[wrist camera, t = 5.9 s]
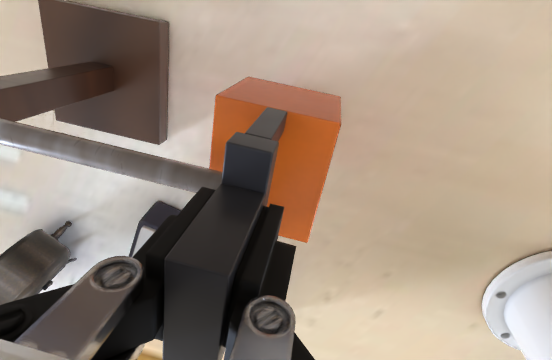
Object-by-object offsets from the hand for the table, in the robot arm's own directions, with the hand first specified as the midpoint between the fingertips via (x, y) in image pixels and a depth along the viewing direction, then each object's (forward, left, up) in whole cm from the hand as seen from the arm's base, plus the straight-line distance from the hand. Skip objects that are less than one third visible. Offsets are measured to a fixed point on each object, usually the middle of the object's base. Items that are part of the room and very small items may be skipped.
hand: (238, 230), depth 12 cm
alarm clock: (+24, +22, -17) cm, 37 cm away
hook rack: (+10, 0, -17) cm, 20 cm away
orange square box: (0, 0, -11) cm, 11 cm away
